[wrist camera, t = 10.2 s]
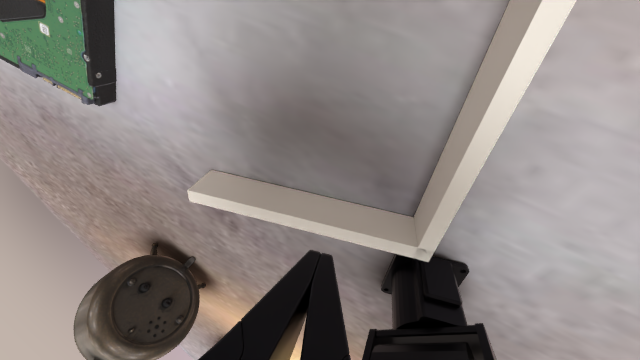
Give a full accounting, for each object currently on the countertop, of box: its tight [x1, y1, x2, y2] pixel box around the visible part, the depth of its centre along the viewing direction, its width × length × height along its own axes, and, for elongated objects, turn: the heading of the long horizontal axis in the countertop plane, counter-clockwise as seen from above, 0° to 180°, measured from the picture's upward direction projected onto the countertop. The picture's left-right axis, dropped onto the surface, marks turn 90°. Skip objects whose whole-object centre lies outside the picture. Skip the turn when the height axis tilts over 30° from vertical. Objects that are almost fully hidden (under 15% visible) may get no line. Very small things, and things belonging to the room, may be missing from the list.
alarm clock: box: [74, 243, 206, 360], centre depth 26 cm, size 11×5×16 cm, turn 38°
